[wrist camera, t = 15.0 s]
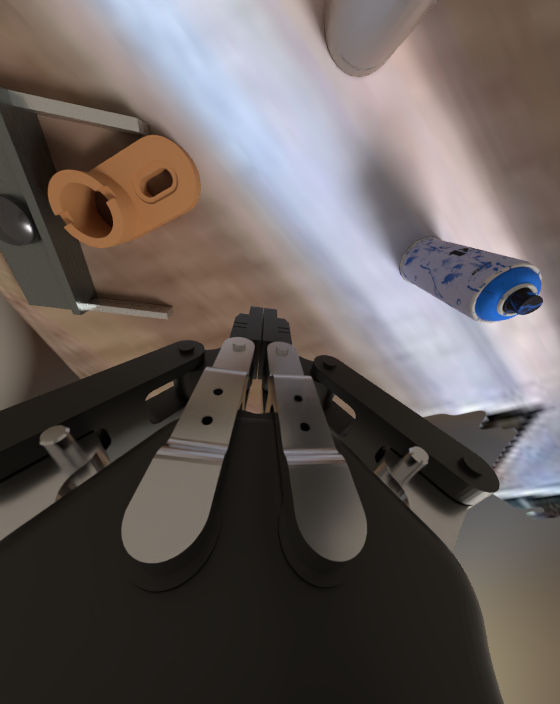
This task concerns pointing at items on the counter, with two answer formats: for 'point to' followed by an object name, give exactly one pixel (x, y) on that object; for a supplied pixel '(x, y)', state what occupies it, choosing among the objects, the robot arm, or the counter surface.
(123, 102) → the counter surface
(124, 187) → the bracket
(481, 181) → the counter surface
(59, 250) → the deck mount
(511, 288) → the aerosol can
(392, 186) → the counter surface
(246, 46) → the counter surface
